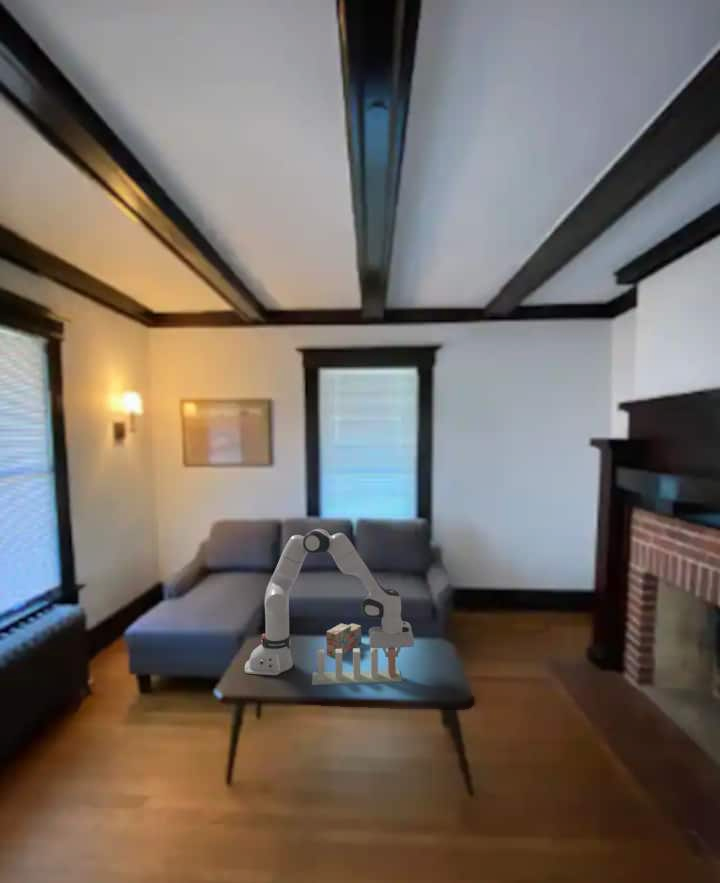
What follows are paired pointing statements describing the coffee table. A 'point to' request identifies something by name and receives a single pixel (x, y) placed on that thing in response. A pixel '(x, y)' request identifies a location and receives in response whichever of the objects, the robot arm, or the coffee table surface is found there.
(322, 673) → the domino
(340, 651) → the domino
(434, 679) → the coffee table surface
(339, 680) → the mat
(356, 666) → the domino
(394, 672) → the domino
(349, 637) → the stack of blocks
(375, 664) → the domino
